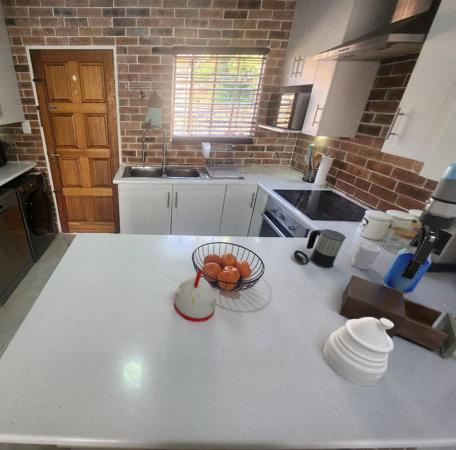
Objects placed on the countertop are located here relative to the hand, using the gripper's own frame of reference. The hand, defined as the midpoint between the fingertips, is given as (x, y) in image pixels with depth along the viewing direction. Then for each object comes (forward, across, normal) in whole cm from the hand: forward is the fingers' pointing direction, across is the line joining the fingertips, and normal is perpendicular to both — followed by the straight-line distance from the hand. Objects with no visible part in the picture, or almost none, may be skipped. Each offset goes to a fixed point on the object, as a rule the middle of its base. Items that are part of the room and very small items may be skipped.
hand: (405, 271), depth 88 cm
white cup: (+12, -18, -10) cm, 24 cm away
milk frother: (+12, -6, -27) cm, 30 cm away
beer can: (+8, 0, 0) cm, 8 cm away
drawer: (+11, +16, +8) cm, 22 cm away
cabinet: (+12, +16, -7) cm, 22 cm away
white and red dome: (+12, +54, -53) cm, 77 cm away
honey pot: (+12, +43, -9) cm, 46 cm away
